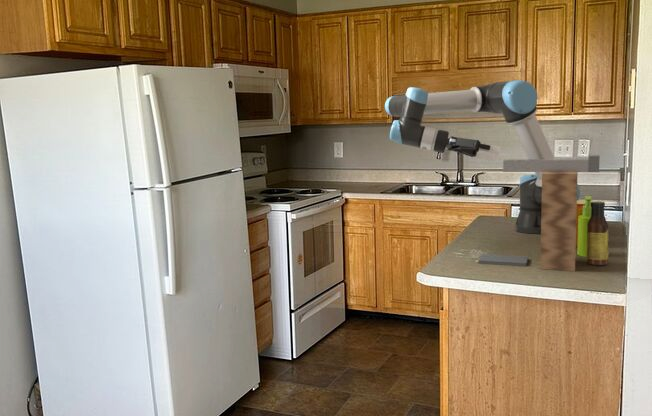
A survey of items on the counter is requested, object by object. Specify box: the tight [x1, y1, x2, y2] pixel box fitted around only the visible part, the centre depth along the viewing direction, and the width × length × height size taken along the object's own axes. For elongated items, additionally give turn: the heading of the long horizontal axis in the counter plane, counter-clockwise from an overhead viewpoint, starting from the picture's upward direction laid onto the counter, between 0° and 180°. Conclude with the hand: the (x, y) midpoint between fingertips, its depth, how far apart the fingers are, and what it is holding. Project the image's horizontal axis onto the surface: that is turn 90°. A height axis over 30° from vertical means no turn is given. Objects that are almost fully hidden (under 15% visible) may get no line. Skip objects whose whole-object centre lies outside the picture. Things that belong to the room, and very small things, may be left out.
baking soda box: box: [576, 199, 594, 248], centre depth 218 cm, size 10×6×16 cm
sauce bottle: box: [586, 200, 610, 266], centre depth 191 cm, size 6×6×20 cm
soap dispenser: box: [576, 195, 593, 258], centre depth 202 cm, size 6×7×20 cm
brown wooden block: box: [539, 172, 579, 272], centre depth 192 cm, size 10×14×30 cm
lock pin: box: [502, 154, 601, 173], centre depth 190 cm, size 28×5×5 cm, turn 68°
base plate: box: [477, 253, 529, 267], centre depth 200 cm, size 15×9×1 cm, turn 67°
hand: (497, 154), depth 203 cm, fingers open, 13 cm apart
